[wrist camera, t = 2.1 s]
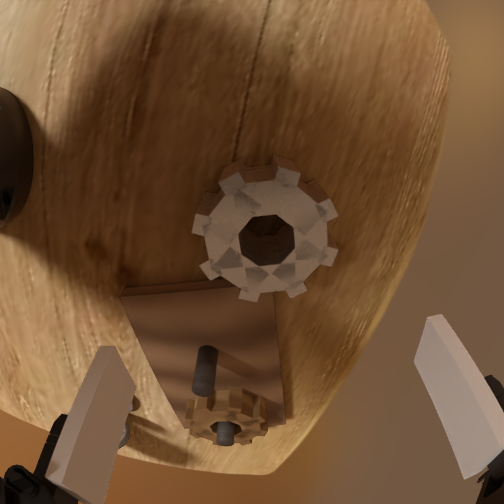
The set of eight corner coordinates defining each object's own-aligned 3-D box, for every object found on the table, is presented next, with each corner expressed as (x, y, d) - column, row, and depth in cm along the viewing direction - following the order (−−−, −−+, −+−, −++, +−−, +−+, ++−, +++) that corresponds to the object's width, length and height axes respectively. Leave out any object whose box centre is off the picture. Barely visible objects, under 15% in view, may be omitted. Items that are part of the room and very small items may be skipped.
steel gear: (194, 164, 23) (180, 180, 18) (319, 149, 22) (336, 161, 18) (215, 272, 27) (208, 307, 23) (324, 260, 27) (337, 292, 22)
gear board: (124, 288, 28) (100, 331, 22) (270, 273, 27) (275, 321, 21) (185, 419, 38) (179, 458, 32) (285, 415, 38) (288, 455, 32)
